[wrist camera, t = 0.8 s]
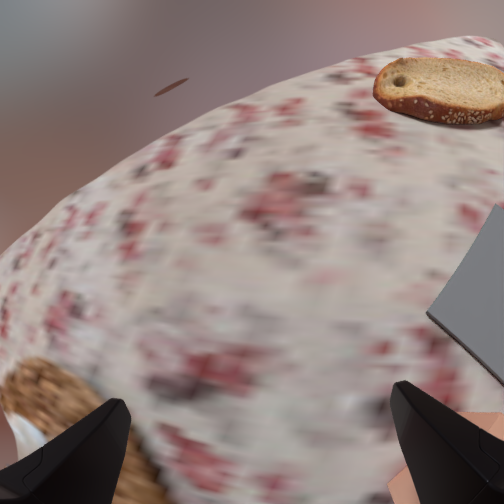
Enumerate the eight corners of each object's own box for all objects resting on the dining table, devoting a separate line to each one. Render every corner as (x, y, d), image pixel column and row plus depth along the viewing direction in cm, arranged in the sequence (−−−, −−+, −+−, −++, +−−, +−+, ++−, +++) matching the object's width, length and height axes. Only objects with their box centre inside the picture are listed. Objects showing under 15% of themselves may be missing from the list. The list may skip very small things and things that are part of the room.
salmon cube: (506, 459, 11) (558, 472, 5) (440, 529, 10) (468, 570, 4) (456, 411, 15) (501, 412, 9) (387, 483, 14) (400, 520, 8)
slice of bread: (516, 89, 25) (520, 68, 22) (507, 164, 21) (516, 137, 18) (408, 50, 34) (406, 30, 31) (361, 104, 31) (358, 78, 28)
